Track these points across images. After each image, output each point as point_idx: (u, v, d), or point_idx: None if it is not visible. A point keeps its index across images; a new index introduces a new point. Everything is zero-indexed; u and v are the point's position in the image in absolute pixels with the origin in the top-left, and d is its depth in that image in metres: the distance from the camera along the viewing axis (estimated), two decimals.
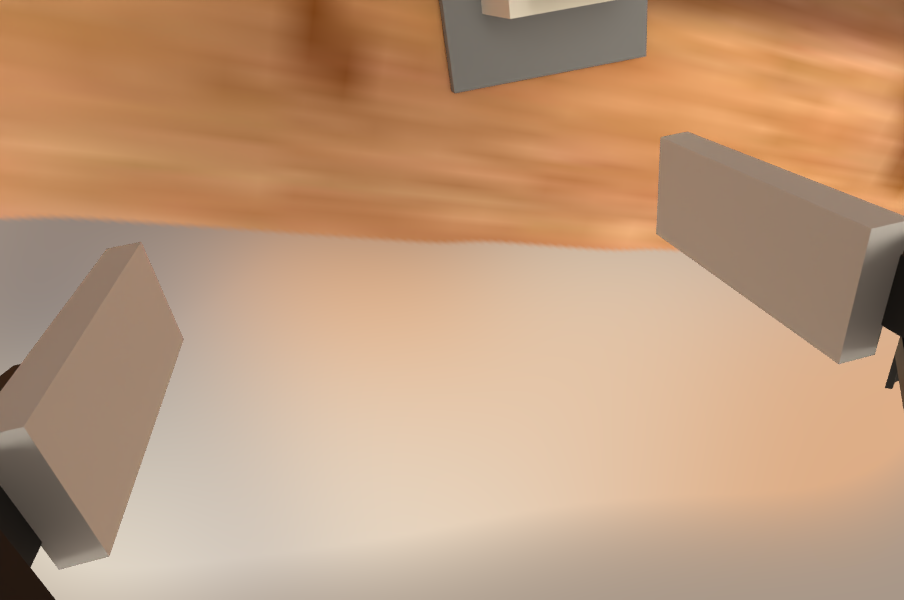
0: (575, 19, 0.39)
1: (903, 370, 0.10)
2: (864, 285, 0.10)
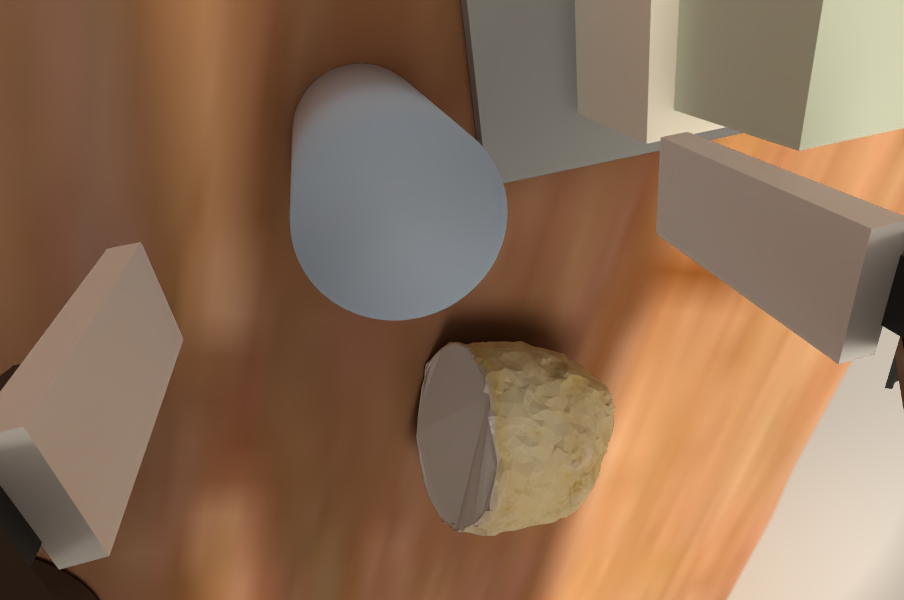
0: None
1: (903, 370, 0.10)
2: (864, 285, 0.10)
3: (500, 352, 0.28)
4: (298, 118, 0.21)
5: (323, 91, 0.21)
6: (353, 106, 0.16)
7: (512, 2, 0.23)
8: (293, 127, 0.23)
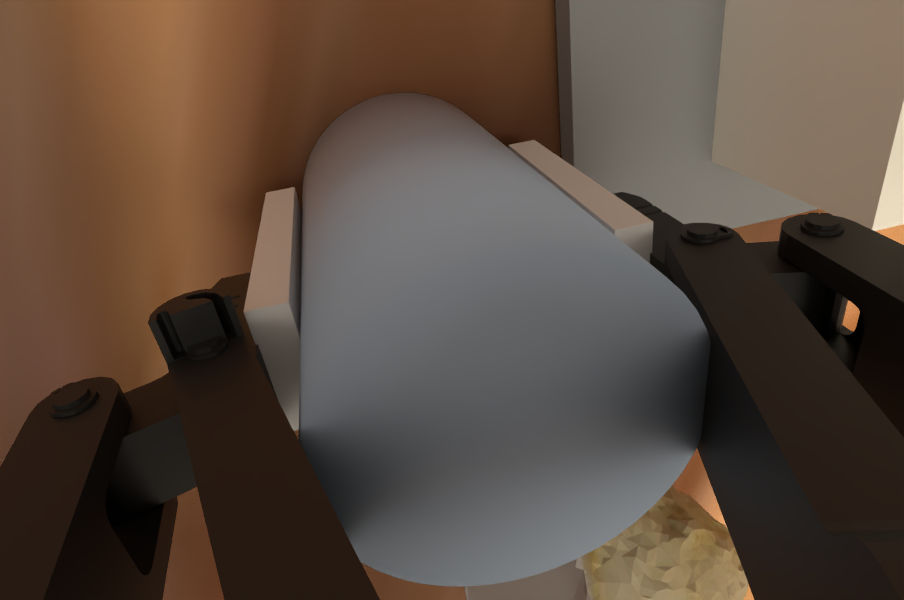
0: None
1: None
2: None
3: None
4: (312, 185, 0.14)
5: (353, 147, 0.13)
6: (422, 206, 0.08)
7: (636, 2, 0.15)
8: (304, 192, 0.15)
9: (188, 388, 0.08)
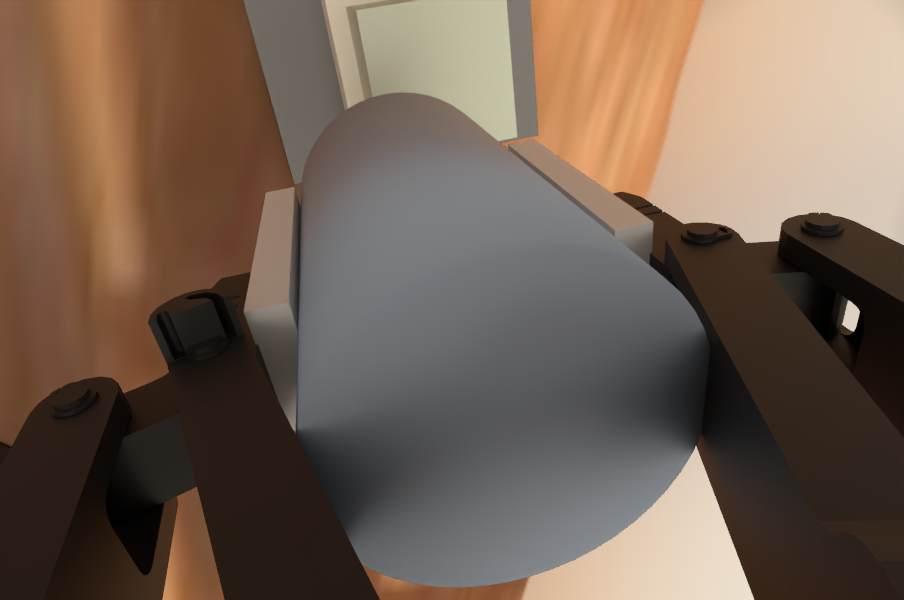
0: None
1: None
2: None
3: None
4: (311, 185, 0.14)
5: (352, 146, 0.13)
6: (420, 206, 0.08)
7: (292, 68, 0.37)
8: (303, 192, 0.15)
9: (188, 388, 0.08)
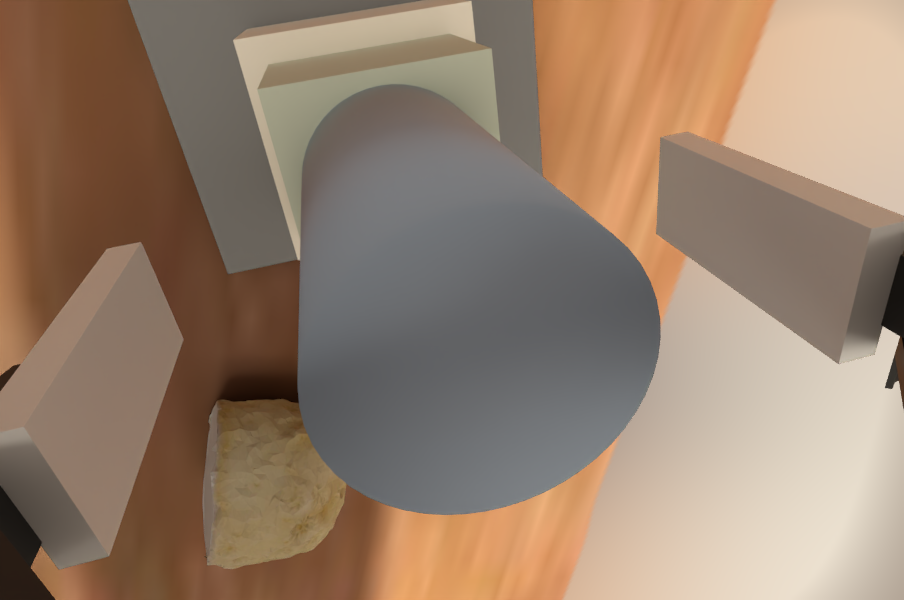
0: None
1: (903, 370, 0.10)
2: (864, 285, 0.10)
3: (245, 412, 0.33)
4: (311, 167, 0.15)
5: (348, 131, 0.14)
6: (405, 176, 0.10)
7: (218, 132, 0.28)
8: (303, 175, 0.16)
9: None
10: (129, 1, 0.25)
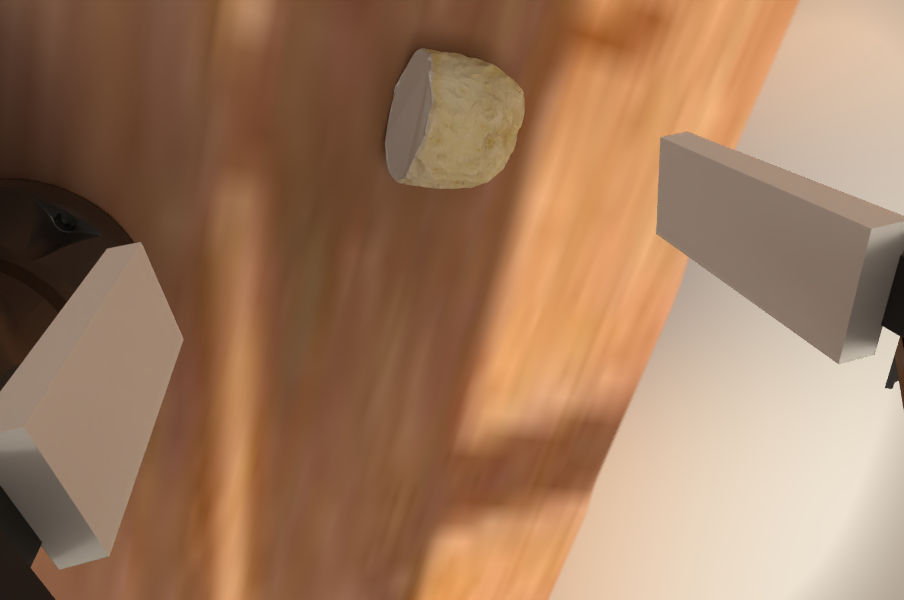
0: None
1: (903, 370, 0.10)
2: (864, 285, 0.10)
3: None
4: None
5: None
6: None
7: None
8: None
9: None
10: None
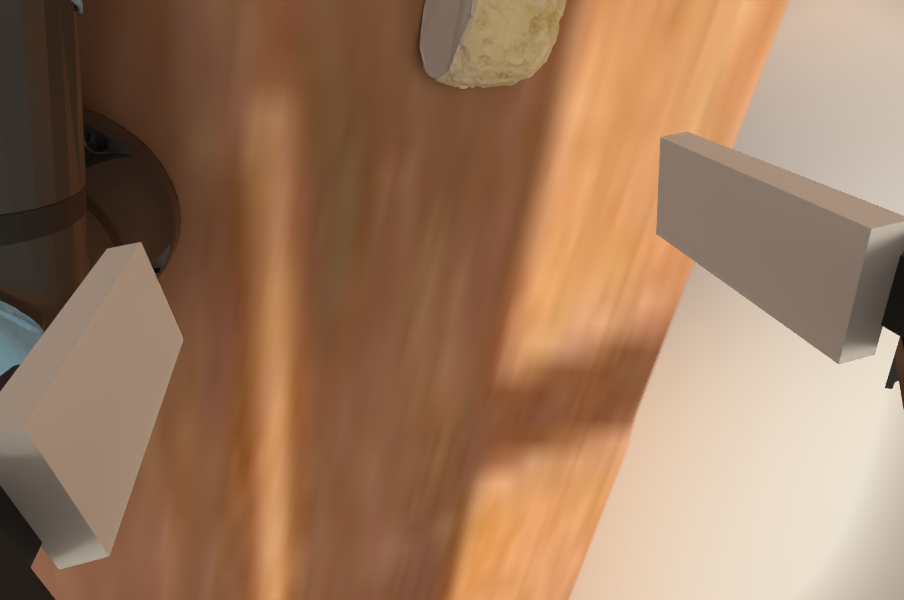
0: None
1: (903, 370, 0.10)
2: (864, 285, 0.10)
3: None
4: None
5: None
6: None
7: None
8: None
9: None
10: None
